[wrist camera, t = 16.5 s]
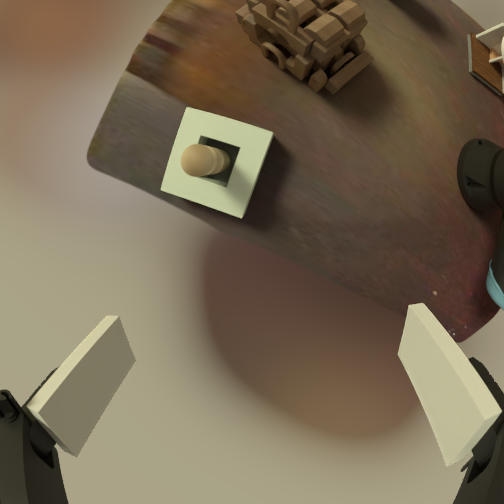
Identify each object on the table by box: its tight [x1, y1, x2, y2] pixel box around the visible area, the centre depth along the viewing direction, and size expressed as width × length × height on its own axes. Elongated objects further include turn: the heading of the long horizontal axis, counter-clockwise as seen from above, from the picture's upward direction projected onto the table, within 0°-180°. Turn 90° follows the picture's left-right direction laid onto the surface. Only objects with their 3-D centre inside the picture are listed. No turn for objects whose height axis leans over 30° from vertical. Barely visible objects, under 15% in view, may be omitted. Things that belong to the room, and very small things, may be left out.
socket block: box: [161, 107, 274, 219], centre depth 42 cm, size 14×14×5 cm
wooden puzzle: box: [235, 0, 374, 94], centre depth 27 cm, size 22×15×19 cm, turn 46°
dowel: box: [181, 144, 232, 177], centre depth 37 cm, size 4×4×14 cm
